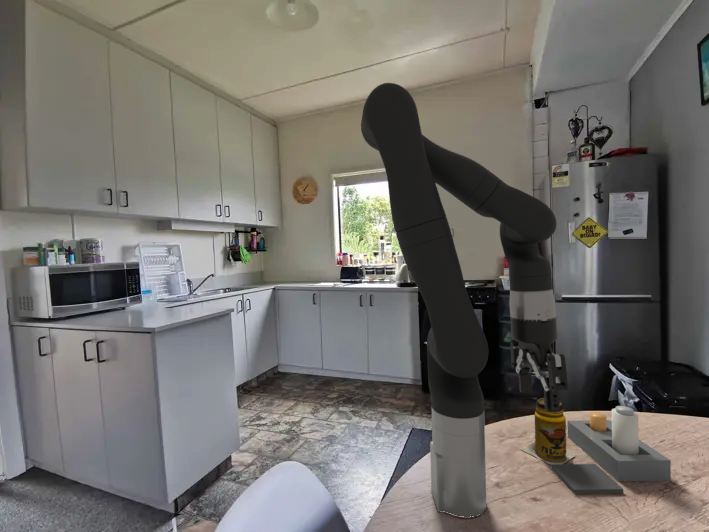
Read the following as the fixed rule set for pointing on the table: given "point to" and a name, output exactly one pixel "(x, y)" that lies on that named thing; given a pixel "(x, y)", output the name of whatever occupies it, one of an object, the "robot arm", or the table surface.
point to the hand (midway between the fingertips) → (538, 401)
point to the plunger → (598, 422)
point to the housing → (619, 466)
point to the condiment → (549, 436)
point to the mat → (586, 479)
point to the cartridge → (625, 431)
